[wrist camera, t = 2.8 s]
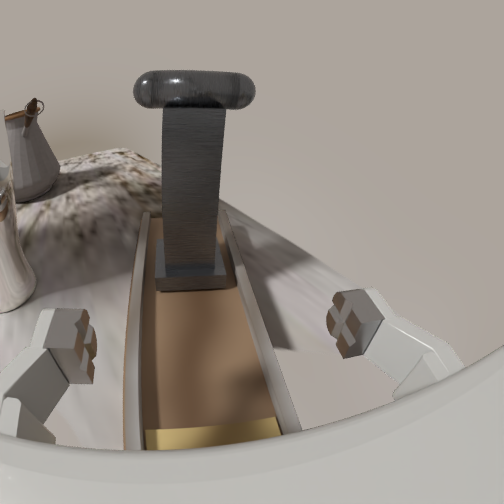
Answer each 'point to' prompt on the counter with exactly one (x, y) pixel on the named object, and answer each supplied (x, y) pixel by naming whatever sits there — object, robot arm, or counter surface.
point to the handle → (191, 169)
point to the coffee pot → (30, 154)
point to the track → (199, 358)
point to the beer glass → (11, 236)
